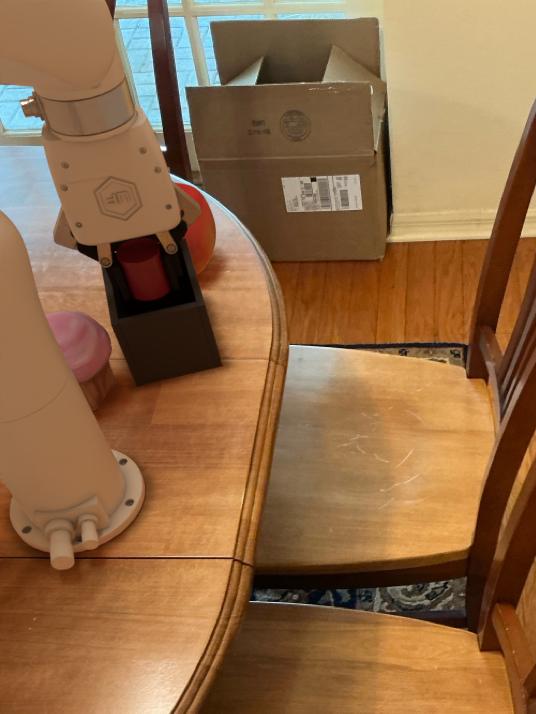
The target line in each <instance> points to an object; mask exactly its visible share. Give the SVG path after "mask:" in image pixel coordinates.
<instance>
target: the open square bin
mask: <svg viewBox="0 0 536 714" xmlns="http://www.w3.org/2000/svg"><path fill="white" fill-rule="evenodd" d="M176 254H177V258H178V261H179V264H180V268H181V271H182V275H183V276H178V277H176V278H177V282H178V285H179V289H176V290H174V289H172V287H171V289H170V291H169V292H168V293H167V294H166V295H164V296H163V297H161V298H158V299H155V300H150V301H142V300H138V299H135V298H133V297H132V296H131V298H129V300H125V301H124V298H123V296H122V293H121V290H120V289H118V290H114V289H113V287H112V284H111V282H110V279H109V277H108V274H107V271H106V269H105V267H102V266H101V265H100V268H101V273H102V280H103V285H104V286H103V287H104V291H105V296H106V303H107V308H108V315H109V321H110V326H111V329H112V330H113V333H114V336H115V338H116V340H117V343H118V345H119V347H120V350H121V353H122V355H123V357H124V360H125V362H126V364H127V368H128V369H129V371H130V374H131V376H132V379H133V381H134V383H135V385H136V387H140V386H143V385H148V384H152V383H156V382H161V381H164V380H169V379H173V378H176V377H177V378H178V377H182V376H186V375H190V374H193V373H197V372H198V373H199V372H202V371H206V370H211V369H215V368H220V367H223V361H222V358H221V354H220V352H219V351H220V350H219V348H218V345H217V341H216V338H215V334H214V331H213V327H212V324H211V320H210V317H209V312H208V310H207V305H206V302H205V299H204V297H203V293H202V289H201V285H200V283H199V279H198V274H197V275H196V271H195V268H194V265H193V261H192V258H191V254H190V251H189V247H188V244H187V241H186V238H185V239H182V240H181V241H180V243H179V244H178V246H177V252H176ZM130 295H131V294H130Z"/></svg>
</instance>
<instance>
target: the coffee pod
mask: <svg viewBox="0 0 536 714" xmlns="http://www.w3.org/2000/svg"><path fill="white" fill-rule="evenodd" d="M116 257H117V260H118V262H119V265H120V267H121V270H122V273H123V275H124V278H125V281H126V284H127V286H128V289H129V292H130V294H131V296H132V297H133V298H135V299H138V300H142V301H150V300H155V299H158V298H161V297H163V296H164V295H166V294H167V293H168V292H169V291H170V289H171V283H170V280H169V277H168V274H167V271H166V268H165V265H164V261H163V258H162V254H161V248H160V245H159V244H158V242H156V241H155V240H152V239H148V238H138V239H133V240H130V241H127V242H125V243H124V244H122V245H121V246H120V247H119V248H118V249H117V251H116Z"/></svg>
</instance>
